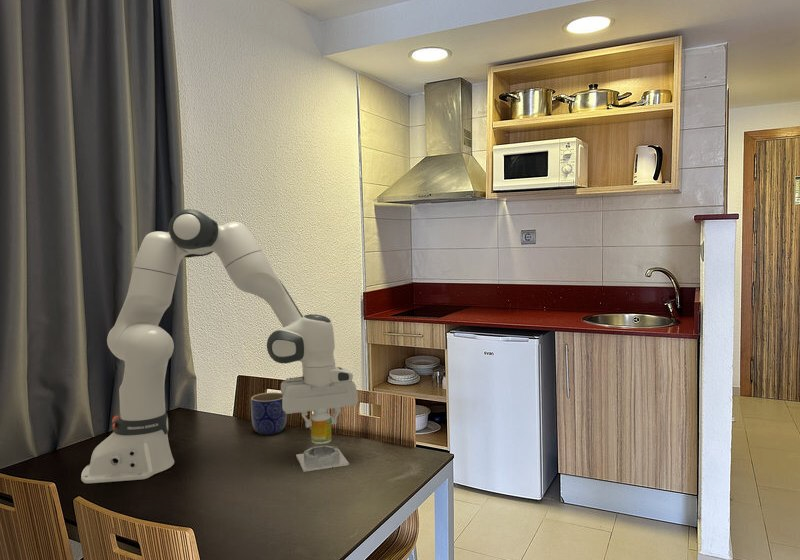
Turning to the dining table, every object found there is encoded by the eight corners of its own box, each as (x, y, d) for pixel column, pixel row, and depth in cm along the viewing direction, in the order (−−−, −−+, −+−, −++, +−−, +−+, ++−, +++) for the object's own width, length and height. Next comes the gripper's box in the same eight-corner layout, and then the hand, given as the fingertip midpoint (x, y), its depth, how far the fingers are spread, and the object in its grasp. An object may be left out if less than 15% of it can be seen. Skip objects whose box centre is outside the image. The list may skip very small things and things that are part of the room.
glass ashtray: (303, 471, 156) (303, 462, 156) (296, 456, 167) (295, 447, 167) (348, 465, 160) (348, 455, 160) (338, 450, 171) (338, 441, 171)
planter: (294, 429, 192) (293, 394, 192) (270, 439, 183) (268, 402, 182) (269, 424, 198) (268, 390, 197) (244, 433, 189) (243, 398, 188)
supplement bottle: (330, 444, 161) (328, 408, 160) (310, 444, 161) (308, 409, 160) (332, 437, 167) (331, 403, 166) (313, 437, 167) (312, 403, 166)
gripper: (282, 381, 156) (284, 433, 157) (358, 373, 163) (360, 423, 164) (278, 376, 162) (280, 426, 163) (352, 368, 169) (353, 417, 170)
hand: (321, 425), depth 163 cm, fingers closed on supplement bottle, 5 cm apart
